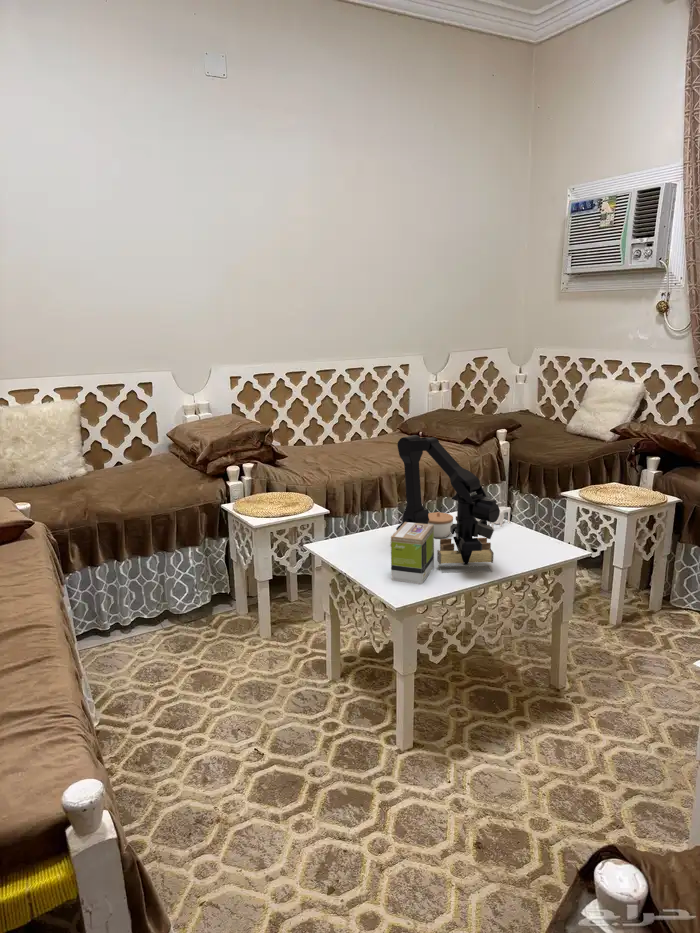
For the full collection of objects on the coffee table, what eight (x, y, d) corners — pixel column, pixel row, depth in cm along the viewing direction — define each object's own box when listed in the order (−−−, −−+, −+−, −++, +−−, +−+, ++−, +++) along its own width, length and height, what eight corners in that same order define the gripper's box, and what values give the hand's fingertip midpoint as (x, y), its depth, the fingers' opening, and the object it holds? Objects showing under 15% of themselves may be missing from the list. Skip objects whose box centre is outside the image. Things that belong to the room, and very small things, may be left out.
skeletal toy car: (501, 522, 254) (502, 504, 252) (518, 530, 244) (519, 511, 242) (456, 528, 247) (457, 509, 246) (471, 537, 237) (471, 517, 235)
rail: (439, 564, 204) (439, 554, 204) (437, 560, 208) (437, 550, 207) (493, 562, 205) (493, 552, 204) (490, 558, 209) (490, 548, 208)
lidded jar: (424, 541, 232) (424, 516, 230) (422, 532, 242) (422, 508, 240) (454, 542, 232) (455, 516, 229) (450, 532, 242) (451, 508, 240)
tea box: (404, 563, 212) (404, 520, 209) (434, 567, 208) (435, 523, 205) (390, 581, 198) (390, 535, 195) (422, 585, 195) (423, 538, 191)
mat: (441, 573, 203) (441, 572, 203) (437, 565, 210) (437, 564, 210) (492, 572, 204) (492, 571, 204) (486, 564, 211) (486, 562, 211)
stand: (440, 562, 213) (441, 544, 211) (437, 555, 218) (438, 538, 217) (492, 561, 213) (493, 543, 212) (487, 554, 219) (488, 537, 218)
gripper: (500, 524, 194) (497, 573, 198) (484, 506, 212) (482, 551, 216) (463, 525, 194) (461, 574, 197) (450, 507, 212) (449, 552, 215)
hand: (464, 562), depth 207 cm, fingers closed on rail, 3 cm apart
